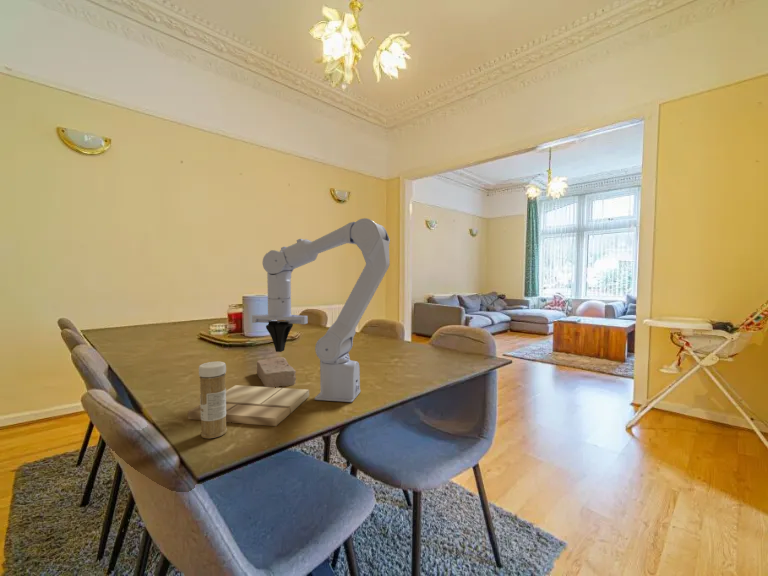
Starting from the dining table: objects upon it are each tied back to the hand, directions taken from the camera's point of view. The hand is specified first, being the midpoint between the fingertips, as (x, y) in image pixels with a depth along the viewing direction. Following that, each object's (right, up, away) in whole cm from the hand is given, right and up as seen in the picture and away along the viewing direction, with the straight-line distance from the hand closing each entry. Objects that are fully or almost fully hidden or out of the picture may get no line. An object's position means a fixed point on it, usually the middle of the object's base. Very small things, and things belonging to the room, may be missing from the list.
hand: (280, 351), depth 89 cm
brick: (-5, -11, +11) cm, 16 cm away
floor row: (-4, -11, -16) cm, 20 cm away
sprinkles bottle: (-5, -12, -24) cm, 27 cm away
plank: (-2, -11, -7) cm, 13 cm away
